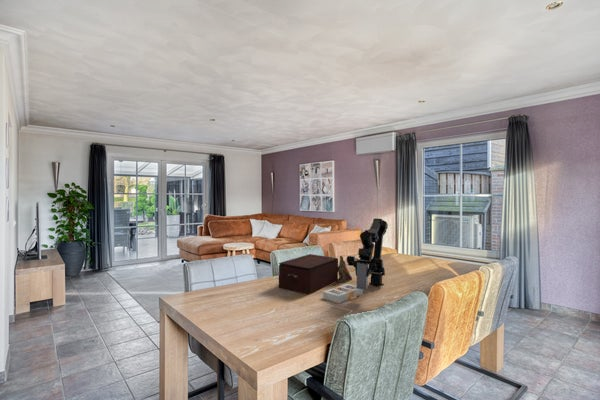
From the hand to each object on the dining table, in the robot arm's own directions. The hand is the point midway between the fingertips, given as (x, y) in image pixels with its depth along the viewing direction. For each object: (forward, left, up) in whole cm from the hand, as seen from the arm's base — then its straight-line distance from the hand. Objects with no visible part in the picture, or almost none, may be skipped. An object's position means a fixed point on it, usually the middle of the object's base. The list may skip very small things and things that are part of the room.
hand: (361, 276), depth 166 cm
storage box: (+7, -39, -13) cm, 42 cm away
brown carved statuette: (-17, -35, -13) cm, 41 cm away
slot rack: (+3, -11, -13) cm, 17 cm away
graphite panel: (-1, -1, -7) cm, 7 cm away
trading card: (+23, +7, -14) cm, 28 cm away
